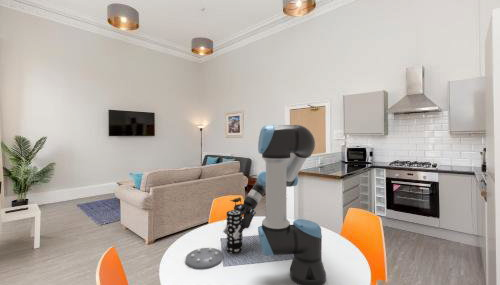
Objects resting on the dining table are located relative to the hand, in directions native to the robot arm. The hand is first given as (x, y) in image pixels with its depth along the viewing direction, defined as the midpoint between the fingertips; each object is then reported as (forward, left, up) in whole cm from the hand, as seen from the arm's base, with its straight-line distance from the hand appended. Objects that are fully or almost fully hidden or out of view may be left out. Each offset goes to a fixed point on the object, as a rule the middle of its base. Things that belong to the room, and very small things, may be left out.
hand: (229, 235), depth 124 cm
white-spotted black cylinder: (0, -3, -9) cm, 9 cm away
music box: (+25, -27, -9) cm, 38 cm away
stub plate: (+2, +14, -9) cm, 16 cm away
